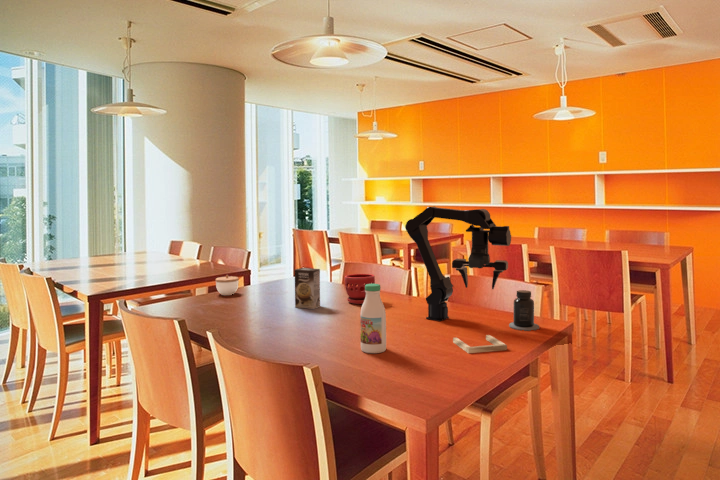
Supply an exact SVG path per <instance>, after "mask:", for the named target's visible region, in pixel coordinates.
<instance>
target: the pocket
mask: <svg viewBox="0 0 720 480" xmlns="http://www.w3.org/2000/svg"><path fill="white" fill-rule="evenodd" d="M485 340H486V341H487V342H489V343H490V344H489V345H478V346H477V345H476V346H470V345H468V343H465V342H464V341H463V340H461V339H460V338H458V337H452V343H453V344H454V345H456V346H458V347H459V349H462V350H463V351H464V352H466V353H467V354H479V353H488V352H499V351H508V345H507V344H505V343H504V342H503V341H501V340H500V339H498V338H496V337H495V336H492V335H490V334H486V335H485Z"/></svg>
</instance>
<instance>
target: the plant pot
mask: <svg viewBox="0 0 720 480" xmlns="http://www.w3.org/2000/svg"><path fill="white" fill-rule="evenodd" d="M375 280H376V279H375V274H370V273H353V274H347V275H345V276H344V287H345V288H344V289H345V291H346V294H347V296H348V297H347V299H346V300H347V302H348V303H350V304H353V305H354V304H355V305H363V303H364V300H365V297H366V292H365V285H366V284H376V281H375Z"/></svg>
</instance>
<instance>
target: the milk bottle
mask: <svg viewBox="0 0 720 480" xmlns="http://www.w3.org/2000/svg"><path fill="white" fill-rule="evenodd" d="M364 285H365V284H364ZM365 292H366V297H365V300H364V303H363V304H361V308H360V316H359V317H360V320H359V321H360V329H359V330H360V350H361V351H362V352H363V353H366V354H380V353H384V352H385V351H386V349H387V317H386V316H387V315H386V313H387V312H386V308H385V305H384V303H383V301H382V298H381V284H379V283H375V284H372V283H371V284H366V285H365Z"/></svg>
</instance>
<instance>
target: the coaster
mask: <svg viewBox="0 0 720 480" xmlns="http://www.w3.org/2000/svg"><path fill="white" fill-rule="evenodd" d="M508 327H509V328H510V329H513V330H516V331H522V330H524V331H523V332H532V331H531V330H534V331H537V329H538V330H540V325H539V324H537V323H536V322H534V325H533V326H532V327H518V326H515V325H514V321H512V322H510V323H509V324H508Z"/></svg>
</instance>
